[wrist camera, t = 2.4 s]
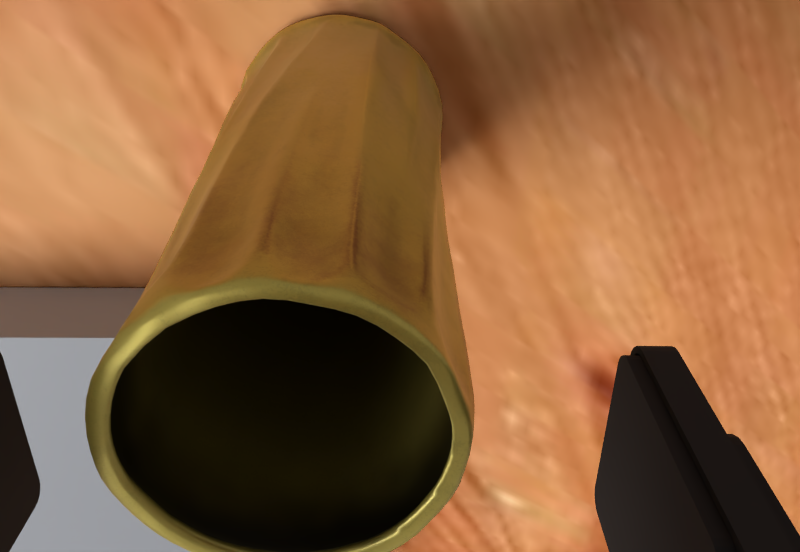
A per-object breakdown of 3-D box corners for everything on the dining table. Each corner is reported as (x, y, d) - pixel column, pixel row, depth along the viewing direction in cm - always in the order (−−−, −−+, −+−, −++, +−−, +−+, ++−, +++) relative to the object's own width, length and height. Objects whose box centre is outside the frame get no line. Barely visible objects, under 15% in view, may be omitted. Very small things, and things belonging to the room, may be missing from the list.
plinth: (-65, 287, 25) (-118, 337, 22) (346, 288, 25) (341, 338, 23) (33, 562, 32) (1, 625, 29) (354, 562, 32) (351, 624, 30)
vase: (466, 43, 21) (575, 307, 9) (413, 228, 24) (437, 622, 12) (256, -12, 20) (48, 194, 8) (227, 187, 23) (42, 563, 11)
